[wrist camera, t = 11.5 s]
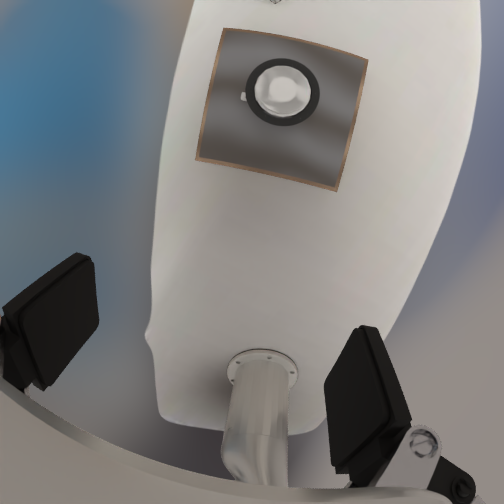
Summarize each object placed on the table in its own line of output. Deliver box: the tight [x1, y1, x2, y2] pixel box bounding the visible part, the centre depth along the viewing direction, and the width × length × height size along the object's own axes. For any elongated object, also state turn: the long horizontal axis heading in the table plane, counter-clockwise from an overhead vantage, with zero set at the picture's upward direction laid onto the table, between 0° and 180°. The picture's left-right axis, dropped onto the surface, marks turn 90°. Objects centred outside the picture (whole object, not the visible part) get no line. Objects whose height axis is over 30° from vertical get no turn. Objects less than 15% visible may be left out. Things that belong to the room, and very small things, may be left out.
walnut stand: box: [195, 28, 368, 192], centre depth 27 cm, size 16×16×4 cm
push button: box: [241, 58, 320, 126], centre depth 21 cm, size 7×5×10 cm
